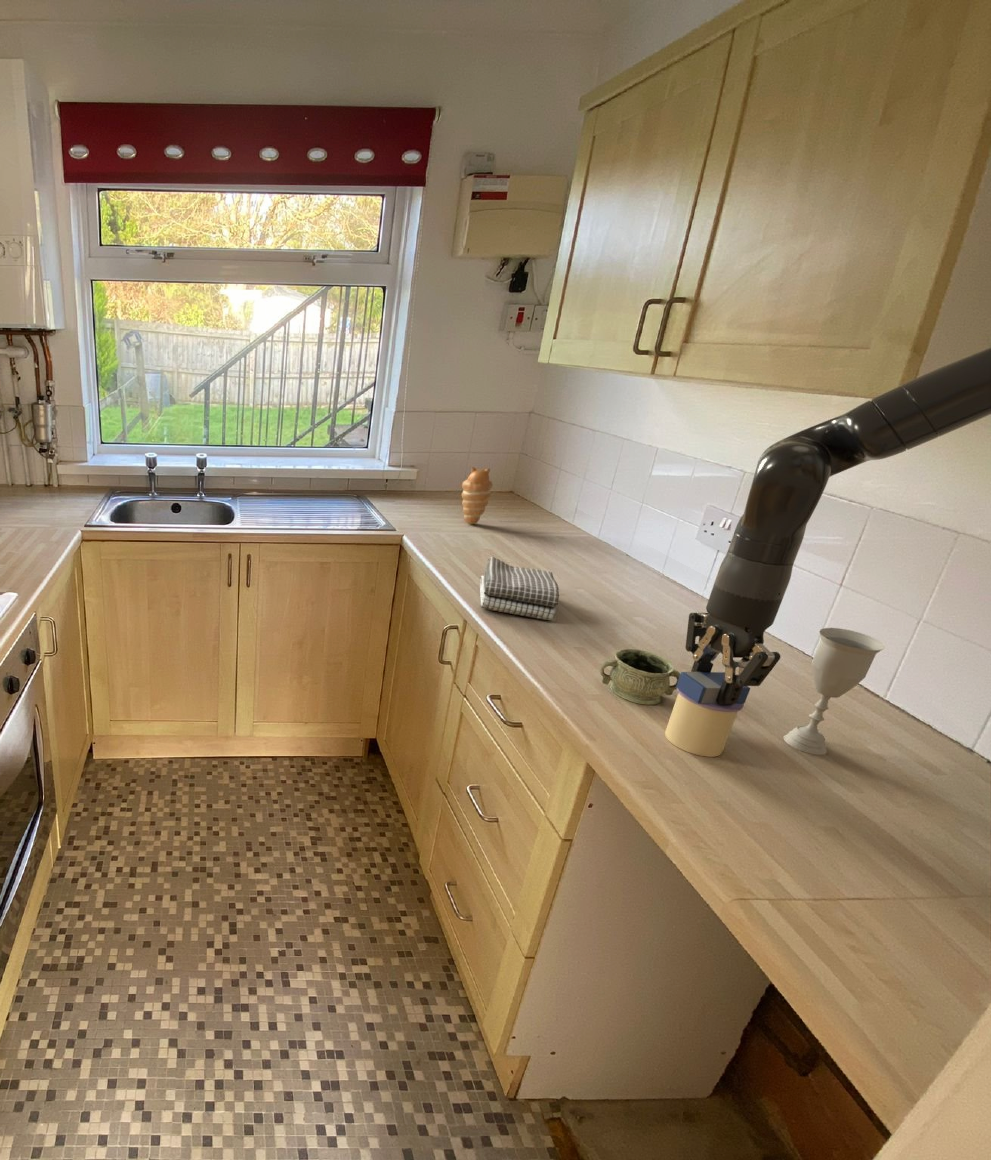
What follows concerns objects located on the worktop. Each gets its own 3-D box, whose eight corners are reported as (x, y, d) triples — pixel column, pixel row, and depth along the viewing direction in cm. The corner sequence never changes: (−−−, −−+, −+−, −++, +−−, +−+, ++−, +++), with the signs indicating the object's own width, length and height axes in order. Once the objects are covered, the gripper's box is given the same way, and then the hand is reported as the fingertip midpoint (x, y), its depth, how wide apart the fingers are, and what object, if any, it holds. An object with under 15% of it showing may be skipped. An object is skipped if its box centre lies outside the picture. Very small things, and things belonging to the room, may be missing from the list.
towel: (479, 613, 139) (485, 579, 136) (478, 583, 155) (484, 553, 152) (555, 624, 134) (564, 590, 131) (547, 593, 150) (554, 562, 147)
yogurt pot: (720, 736, 98) (738, 689, 95) (730, 765, 92) (749, 716, 88) (659, 721, 102) (674, 676, 98) (664, 747, 95) (680, 700, 92)
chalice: (825, 764, 92) (876, 655, 85) (768, 740, 97) (811, 635, 91) (841, 748, 96) (891, 641, 89) (785, 725, 101) (829, 623, 94)
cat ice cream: (484, 521, 205) (494, 466, 198) (486, 528, 198) (497, 471, 191) (455, 519, 207) (464, 464, 200) (456, 526, 200) (466, 469, 193)
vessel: (668, 687, 111) (678, 655, 109) (682, 713, 104) (694, 680, 101) (591, 673, 115) (600, 642, 113) (599, 698, 108) (609, 665, 105)
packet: (720, 687, 96) (726, 671, 95) (745, 704, 91) (751, 688, 90) (675, 686, 95) (680, 671, 94) (697, 703, 91) (703, 687, 90)
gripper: (823, 609, 80) (775, 722, 87) (734, 568, 94) (699, 669, 100) (765, 608, 80) (722, 722, 87) (685, 568, 93) (653, 669, 100)
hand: (710, 693), depth 93 cm, fingers open, 4 cm apart
